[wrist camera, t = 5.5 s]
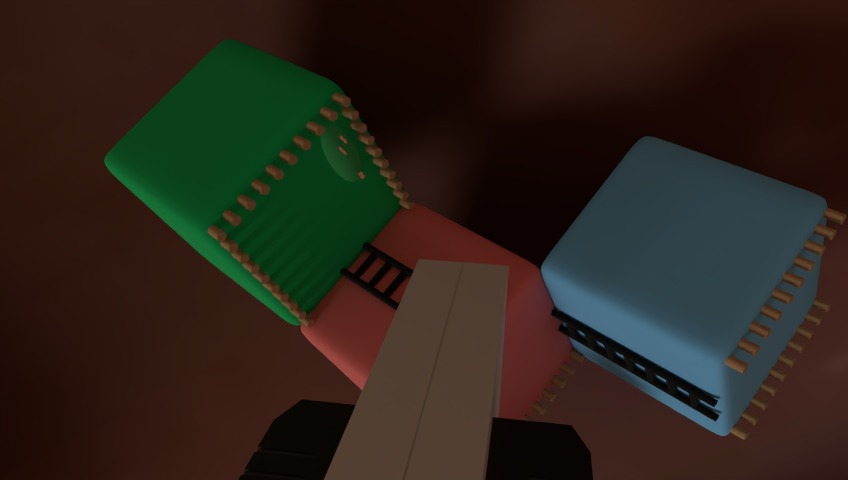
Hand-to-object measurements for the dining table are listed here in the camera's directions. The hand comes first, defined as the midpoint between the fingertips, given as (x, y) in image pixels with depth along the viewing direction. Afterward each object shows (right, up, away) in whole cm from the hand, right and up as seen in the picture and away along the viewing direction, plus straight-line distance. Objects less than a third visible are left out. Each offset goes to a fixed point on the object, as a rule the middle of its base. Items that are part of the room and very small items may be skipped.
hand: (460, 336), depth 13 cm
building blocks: (+1, +3, +7) cm, 7 cm away
